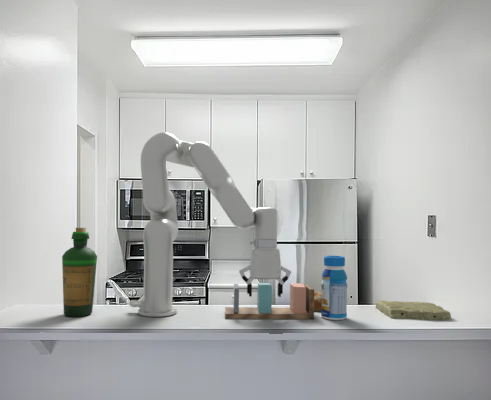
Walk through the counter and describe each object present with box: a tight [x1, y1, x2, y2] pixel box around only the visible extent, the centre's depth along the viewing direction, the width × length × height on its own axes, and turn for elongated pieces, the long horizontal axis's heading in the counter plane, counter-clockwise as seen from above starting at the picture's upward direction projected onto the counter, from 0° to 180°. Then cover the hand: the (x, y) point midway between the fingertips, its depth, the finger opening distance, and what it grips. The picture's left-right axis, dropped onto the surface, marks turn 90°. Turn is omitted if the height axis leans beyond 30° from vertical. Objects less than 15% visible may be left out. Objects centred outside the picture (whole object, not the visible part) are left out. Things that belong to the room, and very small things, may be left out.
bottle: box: [61, 227, 98, 318], centre depth 141 cm, size 11×11×28 cm
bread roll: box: [314, 291, 322, 312], centre depth 156 cm, size 10×10×8 cm
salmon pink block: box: [289, 282, 306, 314], centre depth 145 cm, size 4×8×8 cm, turn 2°
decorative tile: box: [375, 300, 452, 321], centre depth 150 cm, size 19×20×4 cm
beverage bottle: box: [320, 255, 348, 321], centre depth 142 cm, size 8×8×20 cm
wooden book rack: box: [224, 283, 315, 320], centre depth 144 cm, size 28×10×10 cm, turn 93°
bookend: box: [232, 283, 240, 313], centre depth 144 cm, size 2×9×8 cm, turn 3°
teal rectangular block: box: [256, 282, 273, 313], centre depth 144 cm, size 4×8×8 cm, turn 2°
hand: (264, 296), depth 144 cm, fingers open, 9 cm apart
